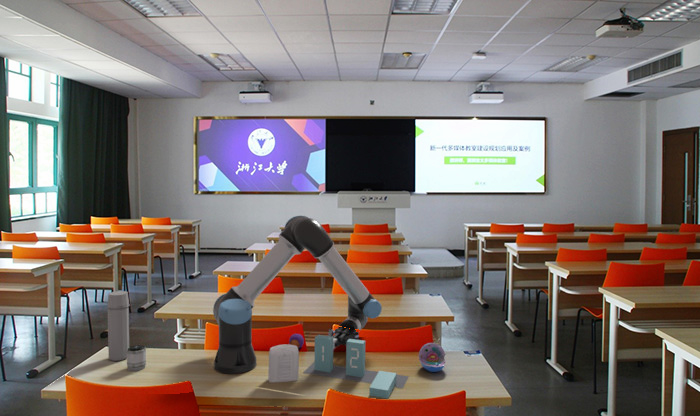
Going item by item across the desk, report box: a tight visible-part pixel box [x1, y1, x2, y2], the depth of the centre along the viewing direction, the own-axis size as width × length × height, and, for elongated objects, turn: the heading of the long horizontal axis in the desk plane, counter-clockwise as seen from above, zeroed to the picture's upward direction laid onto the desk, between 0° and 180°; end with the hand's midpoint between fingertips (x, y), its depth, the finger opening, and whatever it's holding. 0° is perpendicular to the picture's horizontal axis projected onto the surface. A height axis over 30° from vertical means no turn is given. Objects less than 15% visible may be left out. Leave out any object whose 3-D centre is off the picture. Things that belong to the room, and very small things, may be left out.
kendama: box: [288, 333, 305, 349], centre depth 187 cm, size 6×6×20 cm
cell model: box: [418, 342, 447, 373], centre depth 173 cm, size 10×12×10 cm
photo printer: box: [267, 343, 300, 383], centre depth 163 cm, size 10×4×12 cm, turn 103°
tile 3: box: [369, 370, 398, 399], centre depth 157 cm, size 6×3×12 cm
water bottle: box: [106, 290, 131, 362], centre depth 181 cm, size 9×8×25 cm
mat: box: [302, 361, 410, 389], centre depth 168 cm, size 36×10×1 cm, turn 72°
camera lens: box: [126, 344, 147, 372], centre depth 172 cm, size 6×6×8 cm
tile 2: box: [345, 339, 366, 377], centre depth 167 cm, size 6×3×12 cm, turn 72°
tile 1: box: [313, 334, 334, 372], centre depth 171 cm, size 6×3×12 cm, turn 72°
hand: (329, 347), depth 176 cm, fingers closed
